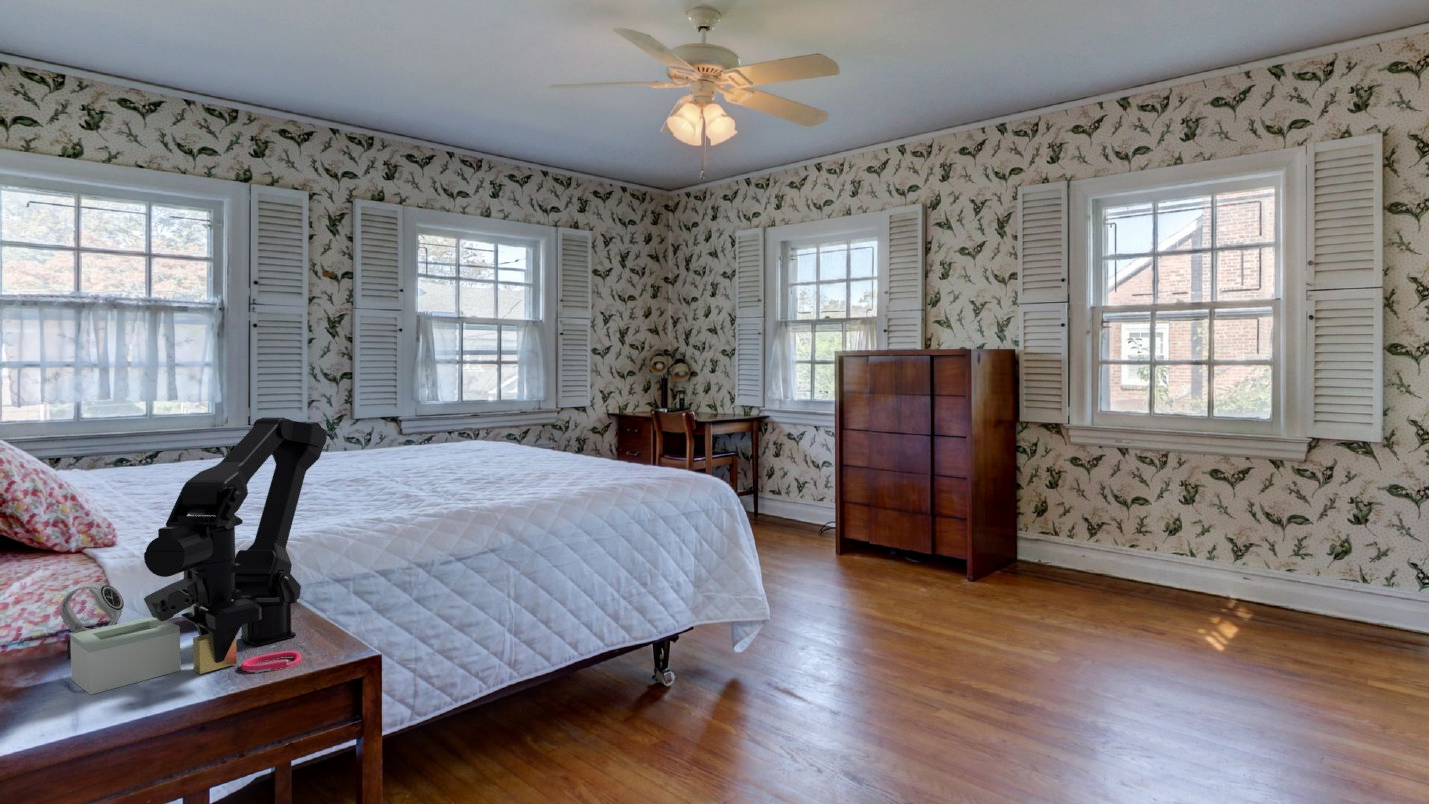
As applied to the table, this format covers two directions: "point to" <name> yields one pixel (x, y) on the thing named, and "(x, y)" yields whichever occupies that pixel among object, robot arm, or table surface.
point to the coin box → (124, 654)
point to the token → (210, 655)
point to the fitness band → (271, 666)
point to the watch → (104, 599)
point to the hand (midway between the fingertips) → (215, 659)
